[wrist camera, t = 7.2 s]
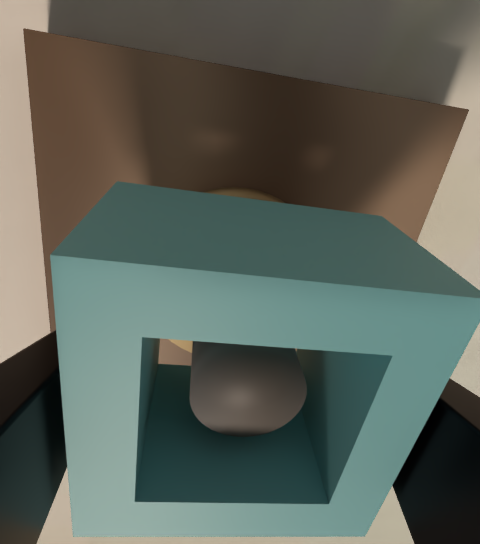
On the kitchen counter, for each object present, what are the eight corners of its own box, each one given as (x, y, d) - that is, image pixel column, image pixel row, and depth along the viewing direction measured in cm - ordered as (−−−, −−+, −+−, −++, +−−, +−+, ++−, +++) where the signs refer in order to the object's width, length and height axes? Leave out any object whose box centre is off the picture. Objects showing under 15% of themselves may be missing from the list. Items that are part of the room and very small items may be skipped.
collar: (115, 391, 11) (73, 536, 8) (116, 180, 8) (49, 254, 5) (318, 402, 12) (365, 536, 8) (381, 215, 9) (491, 300, 6)
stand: (69, 367, 16) (-24, 557, 9) (47, 35, 10) (-201, -37, 4) (338, 384, 17) (412, 554, 11) (440, 106, 12) (692, 133, 6)
